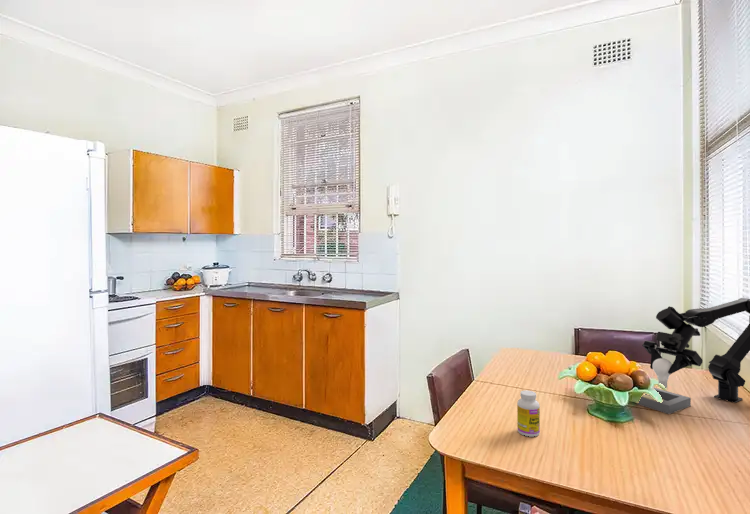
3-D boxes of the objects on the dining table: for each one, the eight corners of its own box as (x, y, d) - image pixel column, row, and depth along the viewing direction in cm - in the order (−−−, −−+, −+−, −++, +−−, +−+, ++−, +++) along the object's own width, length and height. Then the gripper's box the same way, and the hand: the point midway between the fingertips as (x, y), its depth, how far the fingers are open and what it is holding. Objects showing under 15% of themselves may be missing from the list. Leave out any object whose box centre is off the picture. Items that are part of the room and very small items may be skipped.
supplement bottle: (529, 439, 126) (528, 398, 126) (512, 431, 132) (512, 391, 132) (544, 434, 129) (544, 394, 129) (527, 426, 135) (527, 387, 135)
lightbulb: (677, 391, 147) (676, 361, 147) (657, 391, 149) (657, 360, 148) (668, 385, 154) (667, 356, 153) (649, 385, 155) (648, 356, 154)
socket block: (652, 394, 160) (652, 386, 160) (690, 406, 149) (690, 396, 148) (630, 401, 154) (630, 393, 153) (669, 414, 142) (669, 404, 142)
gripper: (645, 319, 161) (625, 351, 157) (697, 328, 143) (675, 364, 140) (659, 337, 163) (640, 369, 160) (712, 348, 146) (691, 383, 142)
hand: (660, 370), depth 150 cm, fingers closed on lightbulb, 6 cm apart
